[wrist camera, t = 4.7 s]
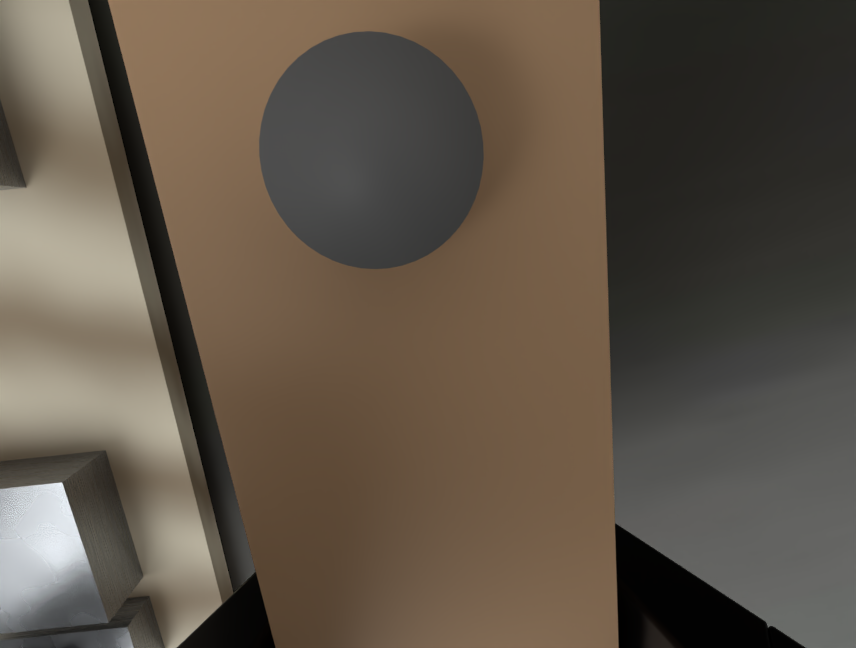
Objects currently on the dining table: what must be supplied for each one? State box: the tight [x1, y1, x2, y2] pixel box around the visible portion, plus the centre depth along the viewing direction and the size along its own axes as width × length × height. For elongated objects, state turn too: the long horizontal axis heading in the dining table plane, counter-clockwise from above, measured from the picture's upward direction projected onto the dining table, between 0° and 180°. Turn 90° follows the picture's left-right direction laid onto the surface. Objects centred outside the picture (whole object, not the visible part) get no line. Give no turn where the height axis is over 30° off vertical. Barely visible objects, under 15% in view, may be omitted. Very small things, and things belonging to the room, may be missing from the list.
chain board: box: [0, 0, 233, 648], centre depth 17 cm, size 32×12×1 cm, turn 6°
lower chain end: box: [0, 450, 165, 648], centre depth 17 cm, size 10×6×2 cm, turn 6°
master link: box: [108, 0, 619, 648], centre depth 7 cm, size 18×4×5 cm, turn 7°
